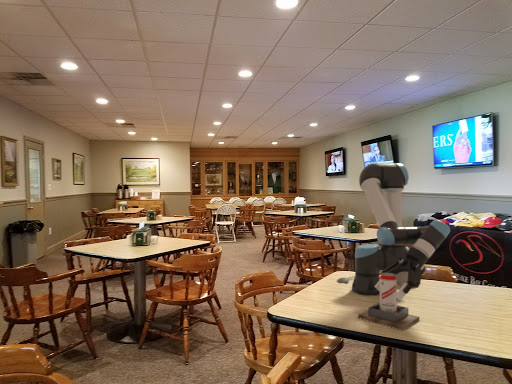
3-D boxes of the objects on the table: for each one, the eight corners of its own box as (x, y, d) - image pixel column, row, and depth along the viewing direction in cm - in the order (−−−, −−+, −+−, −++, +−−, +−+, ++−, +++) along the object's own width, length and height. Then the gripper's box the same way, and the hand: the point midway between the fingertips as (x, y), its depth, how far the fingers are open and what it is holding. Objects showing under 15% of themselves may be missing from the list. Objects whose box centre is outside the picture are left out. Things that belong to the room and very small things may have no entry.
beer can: (398, 318, 130) (398, 276, 130) (381, 317, 131) (380, 275, 132) (395, 313, 136) (394, 272, 136) (378, 312, 137) (378, 272, 138)
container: (418, 287, 180) (418, 264, 180) (383, 282, 190) (382, 261, 190) (423, 280, 195) (423, 259, 195) (390, 276, 205) (389, 256, 205)
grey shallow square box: (368, 315, 134) (368, 307, 134) (381, 308, 141) (381, 301, 141) (395, 322, 126) (395, 314, 126) (408, 315, 133) (408, 307, 133)
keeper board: (358, 318, 135) (358, 314, 135) (375, 309, 145) (375, 306, 145) (403, 330, 122) (403, 326, 122) (419, 320, 132) (419, 316, 132)
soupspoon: (334, 284, 192) (344, 286, 187) (334, 278, 192) (344, 280, 187) (355, 276, 207) (365, 278, 202) (355, 270, 207) (365, 273, 202)
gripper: (449, 265, 125) (414, 310, 122) (405, 254, 149) (375, 291, 146) (436, 251, 124) (400, 296, 121) (394, 242, 148) (363, 279, 145)
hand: (386, 293), depth 133 cm, fingers open, 13 cm apart
